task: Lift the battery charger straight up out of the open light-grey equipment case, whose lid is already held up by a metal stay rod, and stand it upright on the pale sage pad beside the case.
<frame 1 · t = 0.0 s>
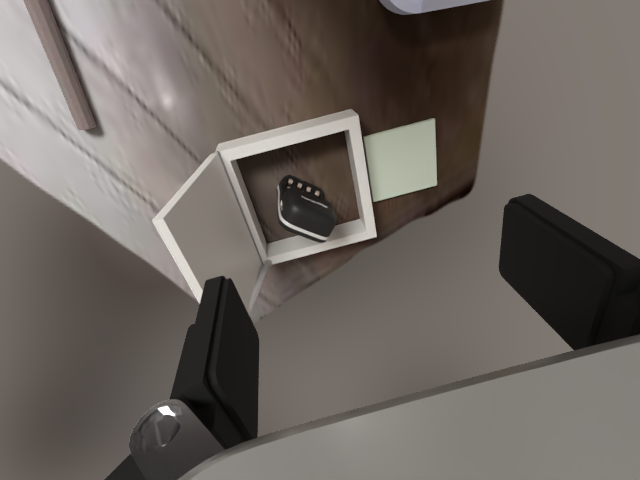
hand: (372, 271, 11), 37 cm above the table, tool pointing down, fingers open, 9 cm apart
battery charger: (301, 187, 49), resting in equipment case
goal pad: (401, 161, 49), on the table
equipment case: (301, 187, 49), on the table
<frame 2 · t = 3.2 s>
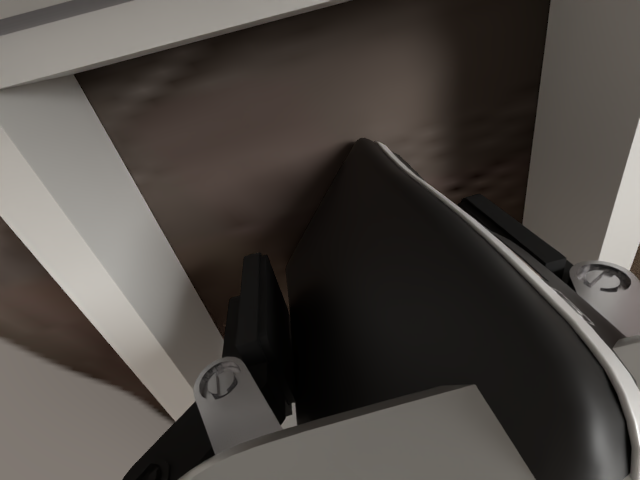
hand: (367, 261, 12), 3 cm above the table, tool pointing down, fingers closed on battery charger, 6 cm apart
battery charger: (354, 219, 14), resting in equipment case, touching gripper
equipment case: (355, 221, 14), on the table
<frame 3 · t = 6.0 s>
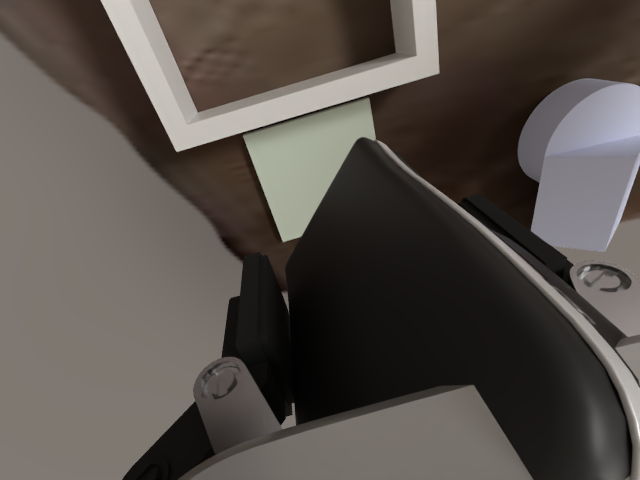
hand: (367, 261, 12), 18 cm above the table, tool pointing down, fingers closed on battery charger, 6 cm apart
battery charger: (353, 218, 14), point 15 cm above the table, touching gripper
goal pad: (320, 174, 29), on the table
wedge on round base: (560, 154, 31), on the table
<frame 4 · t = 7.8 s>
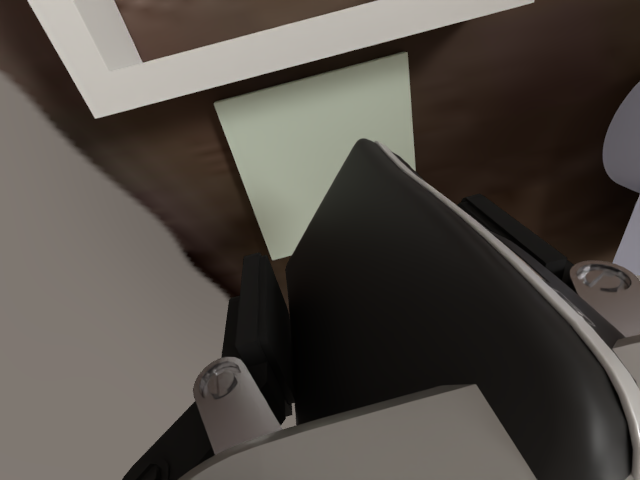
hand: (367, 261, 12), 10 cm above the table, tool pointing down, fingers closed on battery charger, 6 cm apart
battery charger: (354, 219, 14), point 7 cm above the table, touching gripper
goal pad: (328, 167, 20), on the table
when the fingers open (5 cm above the table, at t = 9.2 s): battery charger drops 2 cm, resting on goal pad.
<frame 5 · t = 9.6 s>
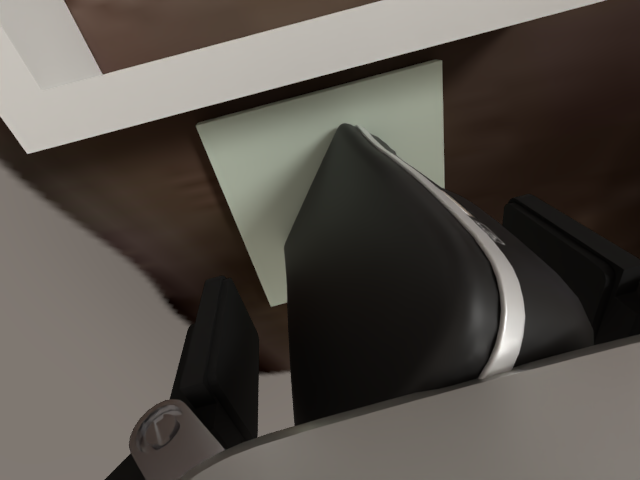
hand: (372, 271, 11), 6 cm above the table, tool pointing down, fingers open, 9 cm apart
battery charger: (343, 199, 16), resting on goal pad
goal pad: (339, 199, 16), on the table
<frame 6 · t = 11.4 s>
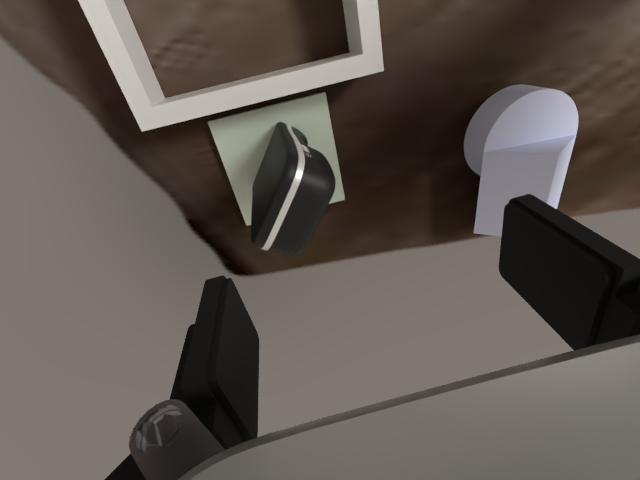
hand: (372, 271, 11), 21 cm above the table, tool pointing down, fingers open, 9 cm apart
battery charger: (283, 162, 30), resting on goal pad
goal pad: (282, 162, 31), on the table
wedge on round base: (502, 153, 34), on the table
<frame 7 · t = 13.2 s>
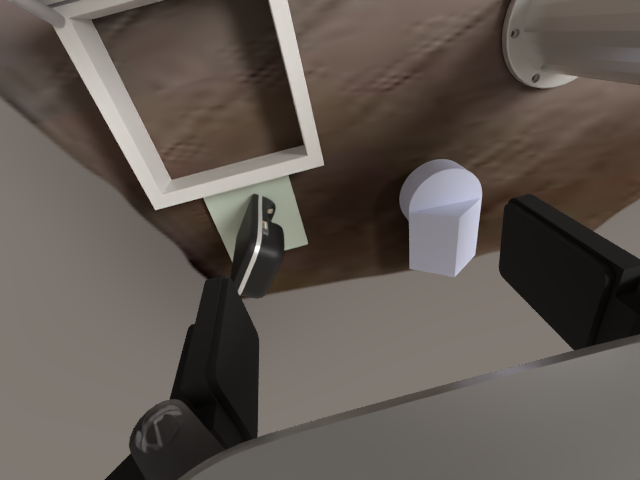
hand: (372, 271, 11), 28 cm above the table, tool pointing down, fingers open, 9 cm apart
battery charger: (259, 219, 41), resting on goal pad
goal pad: (258, 219, 41), on the table
wedge on round base: (432, 206, 44), on the table
equipment case: (210, 89, 33), on the table
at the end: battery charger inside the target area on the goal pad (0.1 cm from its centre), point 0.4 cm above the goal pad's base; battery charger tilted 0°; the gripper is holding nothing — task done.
